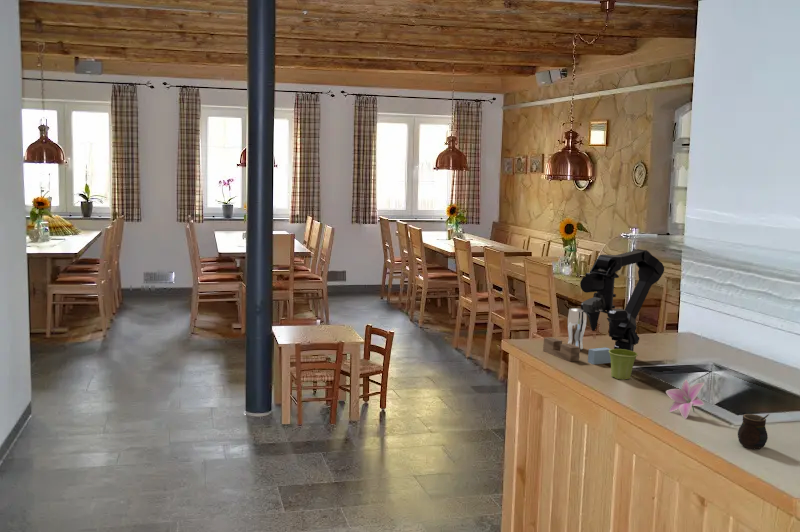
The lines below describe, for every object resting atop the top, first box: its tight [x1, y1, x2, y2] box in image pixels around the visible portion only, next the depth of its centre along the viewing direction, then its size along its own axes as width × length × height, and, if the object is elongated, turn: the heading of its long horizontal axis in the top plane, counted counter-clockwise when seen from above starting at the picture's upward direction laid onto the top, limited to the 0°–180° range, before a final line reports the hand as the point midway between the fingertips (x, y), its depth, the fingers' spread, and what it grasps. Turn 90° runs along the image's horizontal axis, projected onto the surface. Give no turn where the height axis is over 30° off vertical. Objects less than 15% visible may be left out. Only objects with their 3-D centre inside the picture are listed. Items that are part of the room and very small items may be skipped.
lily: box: [665, 379, 705, 420], centre depth 235 cm, size 12×12×10 cm
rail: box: [542, 336, 581, 363], centre depth 296 cm, size 4×16×5 cm, turn 27°
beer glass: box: [567, 307, 588, 351], centre depth 309 cm, size 7×7×15 cm
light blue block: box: [587, 347, 612, 365], centre depth 289 cm, size 8×3×5 cm, turn 117°
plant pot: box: [609, 348, 639, 381], centre depth 270 cm, size 9×9×9 cm
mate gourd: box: [737, 413, 770, 451], centre depth 209 cm, size 7×8×10 cm
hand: (601, 333), depth 288 cm, fingers open, 9 cm apart
